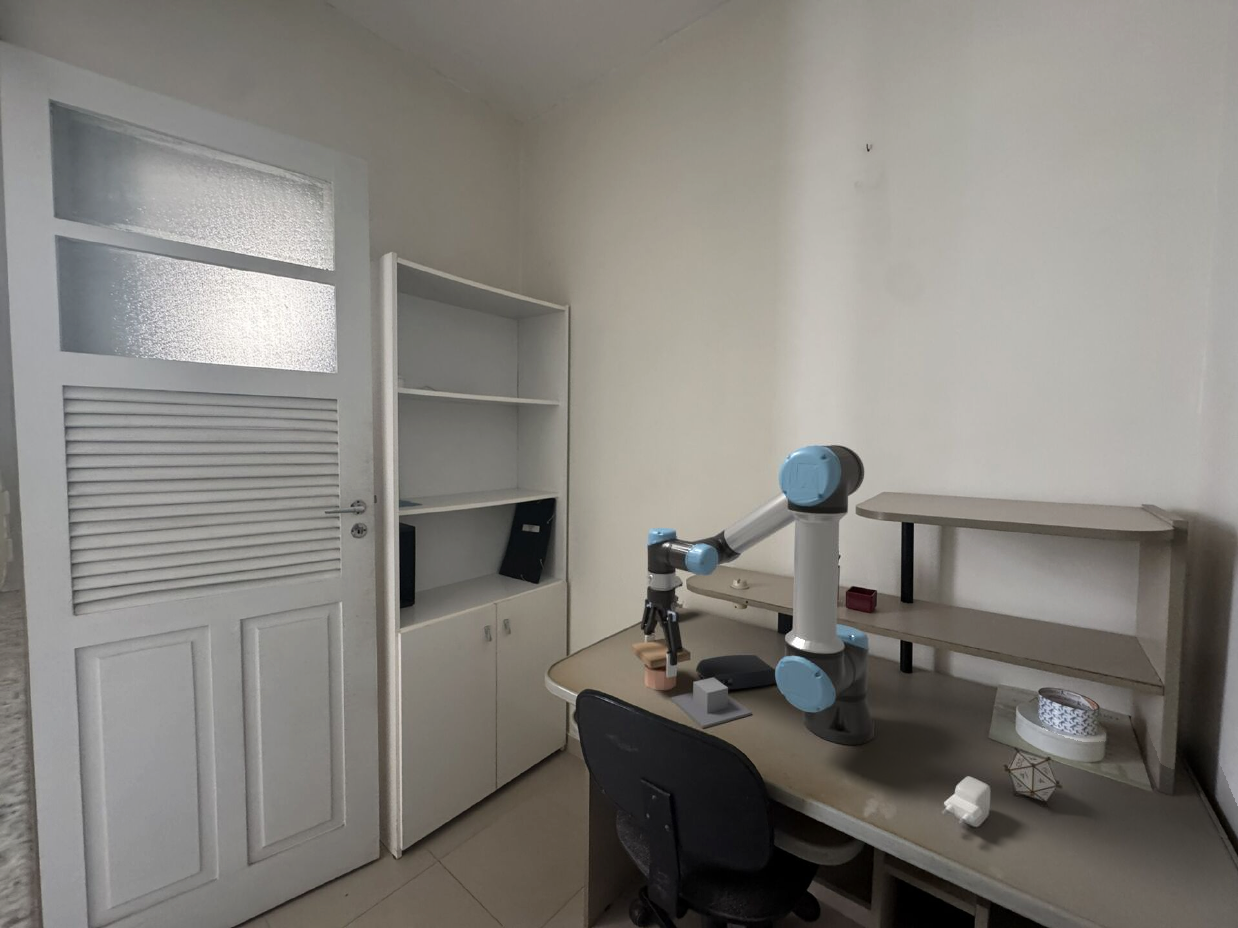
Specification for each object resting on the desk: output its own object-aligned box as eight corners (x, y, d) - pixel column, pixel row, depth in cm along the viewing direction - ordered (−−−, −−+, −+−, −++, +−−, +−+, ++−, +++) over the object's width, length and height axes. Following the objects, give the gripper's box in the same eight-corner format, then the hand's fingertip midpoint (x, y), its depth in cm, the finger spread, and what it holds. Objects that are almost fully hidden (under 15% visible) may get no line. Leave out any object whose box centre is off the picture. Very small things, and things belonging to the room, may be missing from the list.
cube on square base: (751, 714, 124) (752, 691, 123) (702, 728, 118) (703, 704, 117) (716, 688, 136) (717, 667, 136) (670, 699, 130) (671, 678, 130)
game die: (1035, 823, 95) (1039, 800, 89) (990, 780, 102) (992, 756, 96) (1071, 794, 96) (1078, 770, 90) (1024, 754, 103) (1027, 729, 98)
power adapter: (967, 847, 84) (968, 812, 84) (935, 828, 88) (936, 795, 88) (994, 818, 91) (995, 786, 90) (963, 801, 95) (964, 771, 94)
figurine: (689, 619, 187) (689, 578, 186) (663, 625, 181) (664, 583, 180) (673, 611, 195) (673, 572, 194) (648, 617, 189) (649, 576, 188)
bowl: (681, 686, 137) (681, 667, 137) (654, 692, 134) (654, 673, 134) (665, 672, 145) (665, 655, 145) (639, 678, 141) (639, 660, 141)
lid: (690, 659, 137) (690, 652, 136) (650, 668, 131) (650, 660, 131) (669, 644, 147) (669, 637, 146) (631, 651, 141) (631, 644, 141)
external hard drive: (693, 670, 145) (694, 656, 145) (754, 664, 151) (755, 650, 150) (715, 693, 133) (716, 677, 132) (780, 685, 138) (781, 670, 138)
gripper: (629, 576, 147) (628, 652, 148) (671, 601, 126) (670, 689, 127) (652, 573, 150) (651, 647, 151) (697, 597, 129) (696, 683, 130)
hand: (660, 666), depth 139 cm, fingers closed on lid, 11 cm apart
